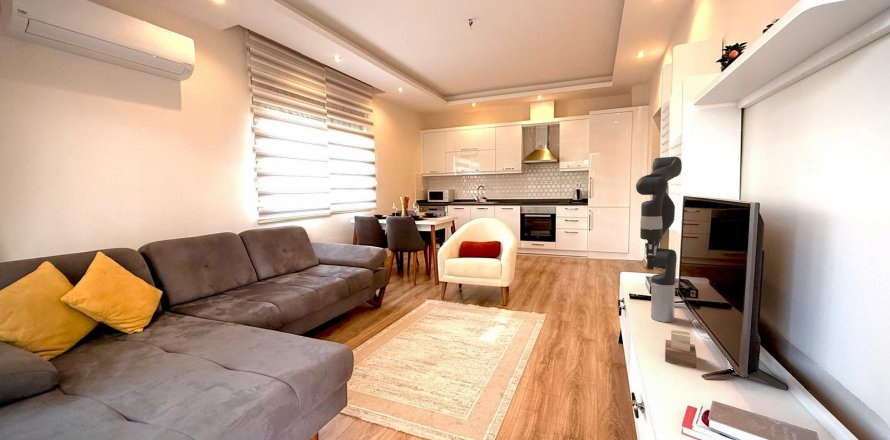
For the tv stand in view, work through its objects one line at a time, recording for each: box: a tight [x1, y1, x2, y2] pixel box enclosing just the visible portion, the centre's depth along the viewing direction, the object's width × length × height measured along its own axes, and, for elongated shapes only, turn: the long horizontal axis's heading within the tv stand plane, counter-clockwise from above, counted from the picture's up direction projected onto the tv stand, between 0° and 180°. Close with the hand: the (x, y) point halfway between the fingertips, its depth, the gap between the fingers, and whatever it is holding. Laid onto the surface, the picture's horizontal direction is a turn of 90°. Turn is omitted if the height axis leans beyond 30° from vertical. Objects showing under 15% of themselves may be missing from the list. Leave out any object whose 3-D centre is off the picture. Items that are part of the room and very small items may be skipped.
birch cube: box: [670, 327, 691, 352], centre depth 124 cm, size 6×6×6 cm
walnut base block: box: [664, 339, 697, 368], centre depth 124 cm, size 9×9×4 cm
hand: (650, 267), depth 139 cm, fingers open, 8 cm apart
